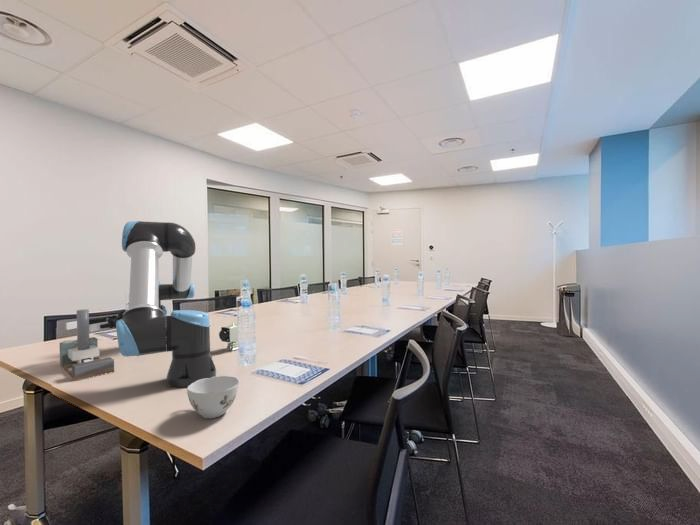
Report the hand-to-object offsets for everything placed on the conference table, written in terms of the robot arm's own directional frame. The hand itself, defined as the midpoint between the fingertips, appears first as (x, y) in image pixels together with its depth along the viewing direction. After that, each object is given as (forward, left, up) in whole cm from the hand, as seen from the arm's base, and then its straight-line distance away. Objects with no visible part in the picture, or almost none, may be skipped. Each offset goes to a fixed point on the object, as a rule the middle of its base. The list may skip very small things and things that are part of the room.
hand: (77, 327), depth 124 cm
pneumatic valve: (-25, -50, -16) cm, 58 cm away
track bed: (-3, -2, -16) cm, 16 cm away
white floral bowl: (-76, -14, -16) cm, 79 cm away
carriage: (0, -2, -13) cm, 14 cm away
